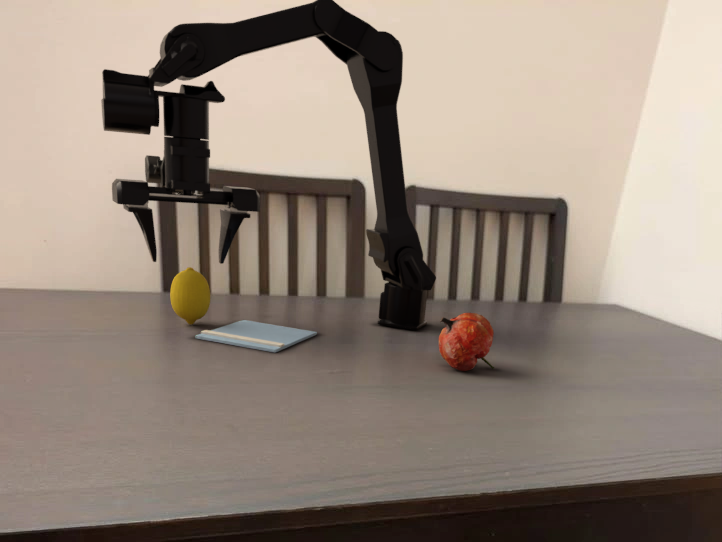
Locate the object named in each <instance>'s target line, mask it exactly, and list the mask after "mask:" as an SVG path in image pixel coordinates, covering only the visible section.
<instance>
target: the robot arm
mask: <svg viewBox="0 0 722 542" xmlns="http://www.w3.org/2000/svg"><path fill="white" fill-rule="evenodd" d="M310 38H315V39H317V40H319V41H320V42H321V43H322V44H323V45H324V46H325V47H326V48H327V49H328V50H329V51H330V52H331V53H332V54H333V55H334V57H336V58H337V59H339V60H340V61H341V62H342V63H344V65H346V66H347V71H348V74H349V77H350V80H351V84H352V88H353V91H354V93H355V94H356V97H357V99H358V102H359V103H360V105H361V108H362V110H363V113H364V121H365V128H366V136H367V144H368V152H369V160H370V168H371V176H372V183H373V190H374V199H375V206H376V219H375V224H374V228H367V229H366V230H365V234H366V238H367V242H368V246H369V247H368V254H367V255H368V257H370V258H372V260H373V262H374V264H375V266H376V267H377V268H378V269H380V272H381V277H382V280H383V281H384V282H385V283H384V285H383V286H384V287H383V291H382V292H381V293H380V297H379V307H378V319H379V320H377V323H376V324H377V325H381V326H386V327H393V328H398V329H405V330H412V331H417V330H419V329H421V328H422V327H424V326H426V325H428V320H425V318H426V310H427V302H428V301H427V300H428V292H429V291H432V289H433V288H434V285H435V282H436V280H437V276H436V275H435V274H434V272H433V271H432V269H431V268H430V267H429V265H428V264H427V263H426V261H425V260H424V251H423V248H422V244H421V240H420V237H419V233H418V230H417V229H416V227H415V225H414V222H413V220H412V218H411V216H410V213H409V209H408V200H407V192H406V182H405V174H404V165H403V163H404V162H403V154H402V146H401V135H400V126H399V119H398V101H399V96H400V93H401V88H402V83H403V65H404V64H403V63H404V52H403V48H402V44H401V43H400V40H398V39H397V37H395V36H394V34H392V33H390V32H388V31H384V30H382V31H381V30H377V29H376V28H375V27H374V26H373V25H371V24H370V23H369V22H367V21H365V20H364V19H361V18H360V17H358V16H357V15H355V14H353V13H351V12H349V11H348V10H346V9H344V8H343V7H342V6H341V5H340V4H338V3H337V2H335V0H314V1H312V2H309V3H305V4H301V5H298V6H293V7H289V8H285V9H282V10H277V11H274V12H270V13H266V14H262V15H258V16H255V17H250V18H247V19H242V20H239V21H234V22H189V23H187V22H186V23H180V24H177V25H175V26H173V27H172V28H171V29H170V30H169V31H168V32H167V33H166V34H165V35H163V38H162V40H161V42H160V46H159V57H160V58H159V60H158V61H157V62H156V64H155V65H154V66H153V67H151V68H150V69H148V75H141V74H133V73H124V72H119V71H117V70H113V69H108V68H107V69H106V68H104V69H103V70H102V71H101V75H102V76H101V77H102V98H101V99H100V102H101V103H100V104H101V116H102V117H101V118H102V129H103V131H104V132H115V133H125V134H134V135H135V134H136V135H146V136H147V135H148V136H150V135H151V131H152V127H154V128H159V126H160V98H162V106H163V107H162V110H163V111H162V112H163V113H162V115H163V116H162V117H163V158H162V159H161V157H160V156H159V155H150V154H149V155H147V154H146V155H145V157H144V173H145V180H142V179H127V178H126V179H125V178H115V179H114V181H112V182H111V196H112V201H113V202H114V203H115V204H117V205H122V207H123V209H124V210H125V211H127V212H129V213H132V215H134V218H135V220H136V221H137V224H138V225H139V228H140V230H141V232H142V235H143V238H144V242H145V244H146V246H147V250H148V253H149V255H150V258H151V261H152V262H153V263H157V259H158V258H157V257H158V252H157V241H156V232H155V231H156V230H155V223H154V215H153V209H152V208H151V207H149V202H166V203H183V204H201V205H202V204H203V205H216V206H217V205H219V206H223V209H222V208H221V209H219V215H220V229H219V242H218V263H219V264H220V265H221V264H224V263H225V260H226V258H227V255H228V253H229V250H230V247H231V245H232V243H233V241H234V239H235V237H236V234H237V232H238V230H239V229H240V227H241V225H242V223H243V222H244V220H245V219H251V215H252V214H251V213H249V212H255V213H259V212H261V195H260V193H259V192H258V191H257V189H255V188H250V187H247V186H246V187H244V186H230V185H223V187H222V190H215V189H214V190H211V183H210V158H211V148H210V103H212V104H213V103H214V104H221V103H224V102H225V101H226V98H225V96H224V94H222V92H220V90H218V87H216V85H215V82H214V81H213V80H209V81H207V82H206V83H205V85H204V86H199V85H191V84H183V83H181V84H180V86H179V92H174V91H165V90H156V89H155V87H160V88H163V87H165V86H167V85H169V84H171V83H173V82H174V81H176V80H179V81H186V82H187V81H191V80H192V81H193V80H194V79H197V78H199V77H201V76H204V75H205V74H207V73H209V72H211V71H213V70H216V69H218V68H219V67H221V66H223V65H225V64H227V63H230V61H233V60H235V59H237V58H240V57H242V56H247V55H250V54H254V53H258V52H262V51H265V50H269V49H273V48H276V47H280V46H284V45H288V44H291V43H295V42H299V41H303V40H307V39H310ZM149 184H159V186H151V185H149ZM196 192H198V194H196ZM199 193H201V194H199Z"/></svg>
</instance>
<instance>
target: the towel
mask: <svg viewBox="0 0 722 542" xmlns="http://www.w3.org/2000/svg"><path fill="white" fill-rule="evenodd" d="M316 335H318V332H317V331H313V330H307V329H301V328H295V327H289V326H282V325H278V324H271V323H266V322H260V321H254V320H248V319H242V320H239V321H235V322H233V323H230V324H226V325H222V326H220V327H217V328H213V329H211V330H208V329H204V330H201V331H200V333H199V334H198V333H197V334H196V335H194V338H195V339H196V340H202V341H208V342H214V343H220V344H226V345H231V346H235V347H241V348H248V349H252V350H258V351H264V352H270V353H274V354H275V353H278V352H280V351H282V350H285V349H287V348H289V347H291V346H294V345H296V344H299V343H300V342H304V341H305V340H307V339H310V338H313V337H314V336H316Z"/></svg>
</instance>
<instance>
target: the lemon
mask: <svg viewBox="0 0 722 542" xmlns="http://www.w3.org/2000/svg"><path fill="white" fill-rule="evenodd" d="M209 285H210V284H209V282H208V280H207V279H206V278H205V276H204V275H203V274H202V273H201V272H199V271H197V270H195V268H193V267H191V266H189V267H187V268H186V269H184V270H182V271H180V272H178V273H177V274H176V275H175V276H174V278H173V280H172V281H171V285H170V291H169V300H170V304H171V307H172V310H173V312H174V313H175V314H176V315H177V316H178V317H179V318H180V319H183V320H185V322H186V323H187V324H188V325H194V324H195V323H196V322H197V321H198V320H200V319H202V318H203V317H204V316H206V314H207V313H208V311H209V308H210V305H211V290H210V286H209Z"/></svg>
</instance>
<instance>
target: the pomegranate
mask: <svg viewBox="0 0 722 542" xmlns="http://www.w3.org/2000/svg"><path fill="white" fill-rule="evenodd" d="M439 323H443V324H444V325H445V327H443V328H442V330H441V331H440V334H439V335H438V349H439V354H440V356H441V357H442V358H443V360H444V361H445V362H446V363H447V365H449V366H450V367H451V368H453V369H456V370H458V371H462V372H467V371H470V370H473V369H474V368H475V366H477V364H478V360H479V359H481V361H483V362H484V364H486V365H488V366H489V367H490V369H492V370H494V369H495V366H493V365H492V364H491V363H490V362H489V361H488V360H487V359H486V358H485V357H486V356H487V355H488V354H489V352H490V350H491V347H492V345H493V342H494V333H495V332H494V329H493V327H492V325H491V322H490V321H489V319H487V317H485V316H484V315H482V314H478V313H476V312H463V313H461V314H459V315H458V316H454V317H452V318H450V319H448V318H446V317H444V316H443V317H442V318H441V319H440V321H439Z"/></svg>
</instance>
